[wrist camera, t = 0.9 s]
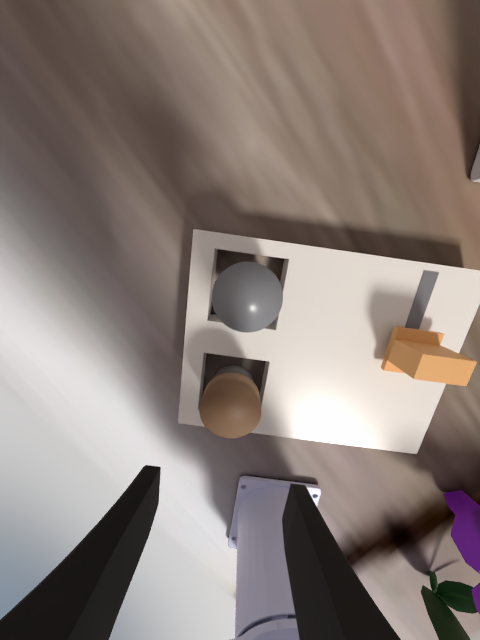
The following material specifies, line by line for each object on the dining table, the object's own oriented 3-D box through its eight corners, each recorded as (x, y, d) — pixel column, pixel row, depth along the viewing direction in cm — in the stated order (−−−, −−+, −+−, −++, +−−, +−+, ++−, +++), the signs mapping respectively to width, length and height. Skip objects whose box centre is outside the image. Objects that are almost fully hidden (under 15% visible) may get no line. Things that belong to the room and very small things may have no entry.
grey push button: (269, 320, 17) (276, 336, 14) (215, 313, 17) (208, 327, 13) (279, 265, 16) (289, 267, 12) (221, 257, 16) (215, 257, 12)
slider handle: (423, 373, 17) (461, 397, 14) (380, 367, 17) (409, 391, 14) (439, 332, 16) (482, 348, 13) (394, 325, 16) (427, 341, 13)
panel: (400, 436, 21) (417, 454, 19) (183, 407, 21) (177, 423, 19) (464, 270, 17) (493, 272, 15) (199, 232, 17) (193, 228, 15)
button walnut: (253, 408, 19) (256, 441, 15) (205, 401, 19) (196, 434, 15) (261, 363, 18) (266, 389, 14) (210, 356, 18) (202, 380, 14)
